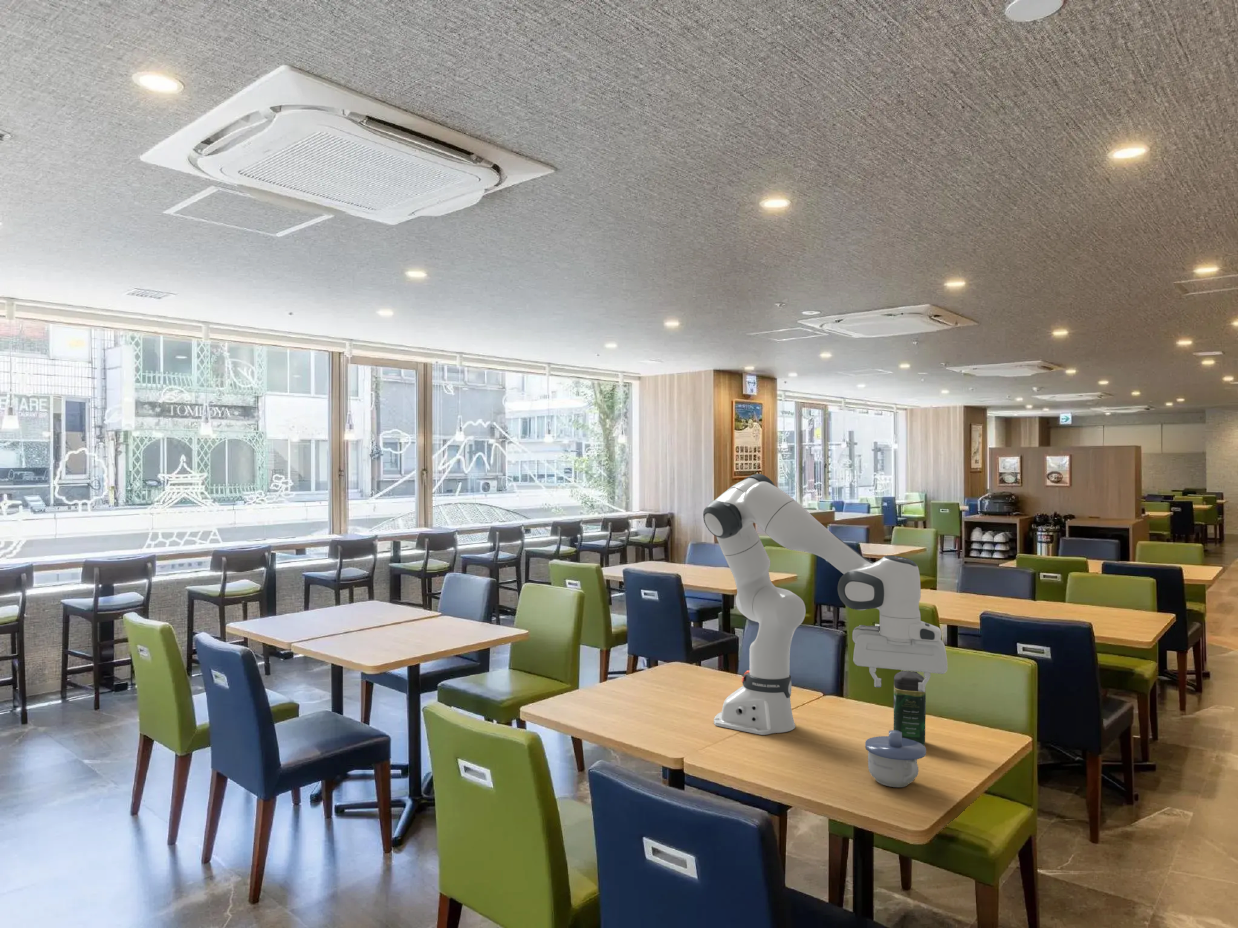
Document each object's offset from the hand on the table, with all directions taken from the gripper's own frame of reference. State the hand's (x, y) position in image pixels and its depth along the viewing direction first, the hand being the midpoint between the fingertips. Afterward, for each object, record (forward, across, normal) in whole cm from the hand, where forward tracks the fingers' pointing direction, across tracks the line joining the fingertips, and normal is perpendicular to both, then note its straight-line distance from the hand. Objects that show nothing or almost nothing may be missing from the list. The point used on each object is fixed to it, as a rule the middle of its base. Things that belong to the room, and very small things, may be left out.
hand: (899, 688), depth 181 cm
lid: (+14, -1, -1) cm, 14 cm away
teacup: (+22, -1, -1) cm, 22 cm away
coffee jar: (+22, +1, +30) cm, 37 cm away
